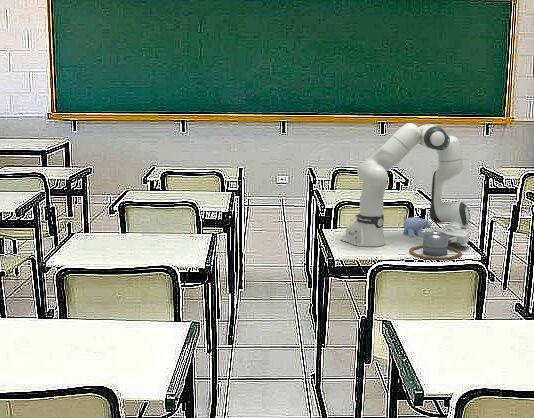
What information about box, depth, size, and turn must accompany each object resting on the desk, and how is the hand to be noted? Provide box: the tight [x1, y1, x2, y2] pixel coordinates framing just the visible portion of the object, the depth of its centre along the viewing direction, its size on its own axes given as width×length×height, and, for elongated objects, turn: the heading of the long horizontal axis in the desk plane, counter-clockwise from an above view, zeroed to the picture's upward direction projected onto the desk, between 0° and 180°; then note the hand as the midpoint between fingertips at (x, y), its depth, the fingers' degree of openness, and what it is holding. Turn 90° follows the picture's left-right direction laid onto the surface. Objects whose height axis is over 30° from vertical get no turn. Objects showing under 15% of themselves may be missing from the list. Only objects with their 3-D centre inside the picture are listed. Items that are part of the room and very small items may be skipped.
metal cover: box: [422, 231, 449, 257], centre depth 344 cm, size 11×11×10 cm
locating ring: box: [408, 244, 463, 261], centre depth 345 cm, size 23×23×1 cm
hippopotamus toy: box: [403, 216, 432, 238], centre depth 380 cm, size 11×15×10 cm
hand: (440, 239), depth 348 cm, fingers open, 8 cm apart
